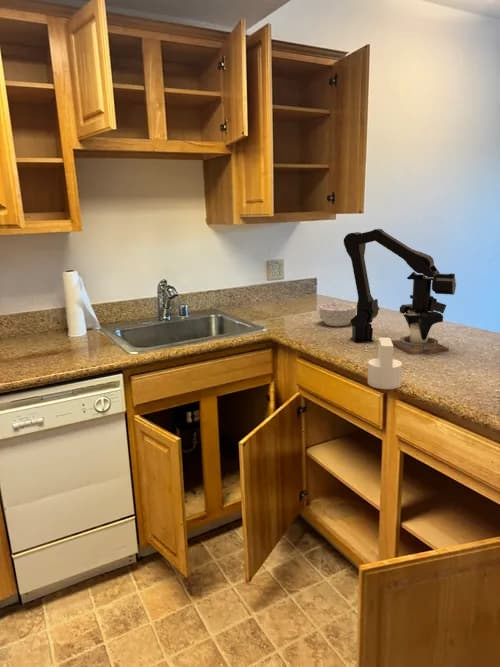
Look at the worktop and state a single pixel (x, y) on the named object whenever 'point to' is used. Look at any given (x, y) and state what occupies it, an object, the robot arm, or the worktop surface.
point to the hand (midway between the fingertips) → (418, 337)
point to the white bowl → (337, 313)
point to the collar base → (415, 351)
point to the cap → (416, 335)
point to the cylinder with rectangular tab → (384, 367)
